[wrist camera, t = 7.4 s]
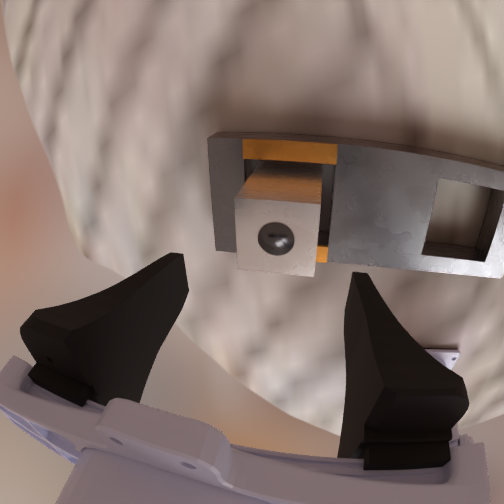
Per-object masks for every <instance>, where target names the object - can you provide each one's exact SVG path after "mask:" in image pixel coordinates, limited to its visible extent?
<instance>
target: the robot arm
mask: <svg viewBox="0 0 504 504" xmlns="http://www.w3.org/2000/svg"><path fill="white" fill-rule="evenodd" d="M188 292H189V288H188V281H187V275H186V269H185V262H184V256H183V254H180V253H169V254H167V255H165V256H163V257H161V258H160V259H158V260H156V261H155V262H153V263H151V264H150V265H148V266H147V267H145V268H143V269H142V270H140V271H138V272H137V273H135V274H133V275H132V276H130V277H128V278H126V279H124V280H123V281H121V282H119V283H117V284H116V285H114V286H112V287H109V288H107V289H105V290H103V291H101V292H99V293H96V294H93V295H91V296H88V297H85V298H83V299H80V300H77V301H74V302H70V303H67V304H63V305H59V306H54V307H49V308H44V309H38V310H35V311H34V312H33V313H32V315H31V316H30V317H29V318H28V319H27V321H25V322H24V324H23V325H22V326H21V327H20V334H21V337H22V340H23V341H24V343H25V345H26V347H27V348H28V350H29V351H30V353H31V355H32V356H33V358H34V359H35V360H36V362H37V363H36V364H35V365H34V367H32V366H31V365H30V364H29V363H28V362H26V361H24V360H22V359H20V358H18V357H16V356H12V358H11V359H10V360H9V362H8V363H7V364H6V365H5V366H4V368H3V369H2V370H1V372H0V410H1V411H2V412H3V413H4V414H5V416H6V417H8V419H9V420H10V421H11V422H12V423H13V424H14V425H16V426H17V427H19V428H20V429H22V430H23V431H24V432H26V433H27V434H29V435H30V436H32V437H33V438H35V439H36V440H37V441H39V442H40V443H42V444H43V445H45V446H46V447H48V448H49V449H51V450H52V451H54V452H55V453H57V454H59V455H60V456H62V457H63V458H65V459H67V460H68V461H70V462H71V463H73V464H75V467H74V469H73V470H72V472H71V474H70V476H69V478H68V480H67V482H66V484H65V486H64V488H63V490H62V492H61V494H60V496H59V498H58V500H57V501H56V503H55V504H489V503H490V502H491V500H490V487H489V476H488V468H487V460H486V453H485V446H484V443H482V442H481V443H475V442H474V439H473V438H472V437H470V436H468V435H467V434H463V435H461V436H460V434H459V429H458V423H457V422H458V421H459V420H460V419H461V418H462V417H463V415H464V414H465V412H466V411H467V409H468V407H469V400H468V395H467V390H466V387H465V384H464V381H463V378H462V377H461V376H459V375H458V374H456V373H455V372H453V371H452V370H451V369H452V368H453V366H454V364H455V363H456V361H457V359H458V358H459V356H460V351H459V350H439V349H423V348H422V347H421V346H420V345H419V344H418V343H417V342H416V341H415V340H414V339H413V338H412V337H411V336H410V335H409V333H408V332H407V331H406V330H405V329H404V328H403V327H402V325H401V324H400V323H399V322H398V320H397V319H396V318H395V316H394V315H393V314H392V312H391V311H390V309H389V308H388V306H387V305H386V303H385V302H384V300H383V299H382V297H381V295H380V294H379V292H378V290H377V289H376V287H375V285H374V284H373V282H372V280H371V278H370V276H369V275H368V274H367V273H360V272H353V273H352V278H351V283H350V288H349V293H348V298H347V302H346V307H345V317H344V342H345V359H346V393H345V405H344V414H343V423H342V431H341V438H340V445H339V451H338V456H337V458H330V457H318V456H308V455H298V454H290V453H282V452H275V451H268V450H261V449H256V448H250V447H244V446H240V445H234V444H230V442H229V440H228V439H227V438H226V436H225V435H224V434H223V432H222V431H220V430H218V429H217V428H215V427H213V426H212V425H210V424H207V423H204V422H201V421H199V420H196V419H192V418H188V417H184V416H181V415H177V414H173V413H170V412H166V411H162V410H159V409H155V408H153V407H149V406H146V405H143V404H140V400H141V397H142V393H143V390H144V387H145V384H146V381H147V379H148V376H149V373H150V370H151V368H152V365H153V363H154V361H155V358H156V355H157V353H158V351H159V349H160V347H161V345H162V343H163V342H164V340H165V338H166V336H167V335H168V333H169V331H170V330H171V328H172V326H173V324H174V323H175V321H176V319H177V317H178V315H179V314H180V312H181V310H182V308H183V305H184V303H185V300H186V298H187V295H188Z"/></svg>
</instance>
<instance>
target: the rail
mask: <svg viewBox="0 0 504 504" xmlns="http://www.w3.org/2000/svg"><path fill="white" fill-rule="evenodd" d="M207 140H208V156H209V171H210V185H211V198H212V211H213V223H214V235H215V247H216V251H226V252H236V253H237V245H236V225H235V203H234V198H235V196H236V195H237V193H238V192H239V191H240V189H241V188H242V186H243V185H244V184H245V182H246V181H247V179H248V178H249V177H250V175H251V159H262V160H281V161H297V162H311V163H323V164H334V165H335V166H334V179H333V191H332V202H331V213H330V223H329V231H320V230H319V232H318V242H317V253H316V262H323V263H326V262H337V263H347V264H357V265H367V266H378V267H388V268H398V269H408V270H419V271H429V272H439V273H450V274H460V275H470V276H481V277H491V278H502V276H503V274H504V166H501V165H497V164H493V163H489V162H485V161H481V160H477V159H472V158H468V157H463V156H459V155H454V154H449V153H444V152H439V151H433V150H428V149H422V148H416V147H410V146H404V145H397V144H390V143H383V142H375V141H367V140H359V139H350V138H339V137H328V136H316V135H301V134H283V133H253V132H217V133H215V134H214V135H212V136H210V137H209V138H207ZM438 178H443V179H449V180H454V181H460V182H465V183H470V184H475V185H480V186H485V187H489V188H493V190H492V194H491V198H490V202H489V206H488V209H487V213H486V217H485V220H484V224H483V227H482V231H481V234H480V237H479V240H478V243H477V246H476V248H472V247H464V246H456V245H448V244H440V243H432V242H424V241H425V237H426V234H427V230H428V225H429V221H430V217H431V213H432V208H433V203H434V199H435V194H436V189H437V183H438Z"/></svg>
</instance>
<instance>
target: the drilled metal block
mask: <svg viewBox="0 0 504 504" xmlns="http://www.w3.org/2000/svg"><path fill="white" fill-rule="evenodd" d="M322 167H323V163H311V162H297V161H281V160H261V161H260V163H259V164H258V165H257V167H256V168H255V170H254V171H253V172H252V174H251V175H250V177H249V178H248V179H247V181H246V182H245V184H244V185H243V186H242V188H241V189H240V191H239V192H238V193H237V195H236V196H235V198H234V203H235V225H236V245H237V264H238V269H243V270H252V271H261V272H270V273H280V274H289V275H299V276H309V277H314V272H315V262H316V253H317V242H318V232H319V220H320V208H321V191H322Z"/></svg>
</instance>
